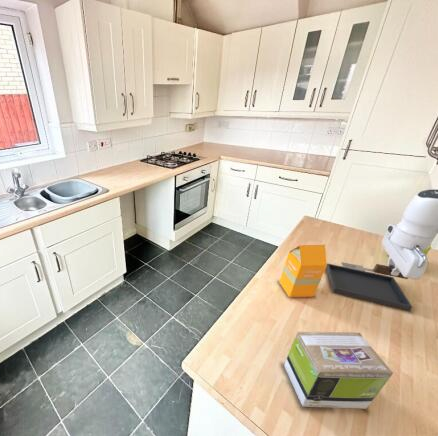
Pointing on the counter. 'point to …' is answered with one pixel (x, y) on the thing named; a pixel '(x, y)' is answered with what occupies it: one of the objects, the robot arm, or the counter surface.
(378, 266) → the fork
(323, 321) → the counter surface
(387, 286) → the tray
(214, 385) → the counter surface
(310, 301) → the counter surface
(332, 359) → the tea box
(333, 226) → the counter surface
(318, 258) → the orange juice
